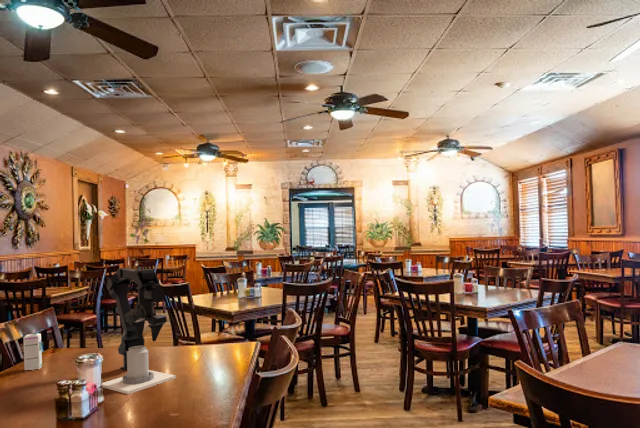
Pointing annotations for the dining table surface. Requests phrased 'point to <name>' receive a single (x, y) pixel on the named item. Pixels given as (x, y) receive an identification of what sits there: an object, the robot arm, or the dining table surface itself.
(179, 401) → the dining table surface
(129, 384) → the platter
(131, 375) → the can
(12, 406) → the dining table surface
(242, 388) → the dining table surface
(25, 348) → the syrup box
